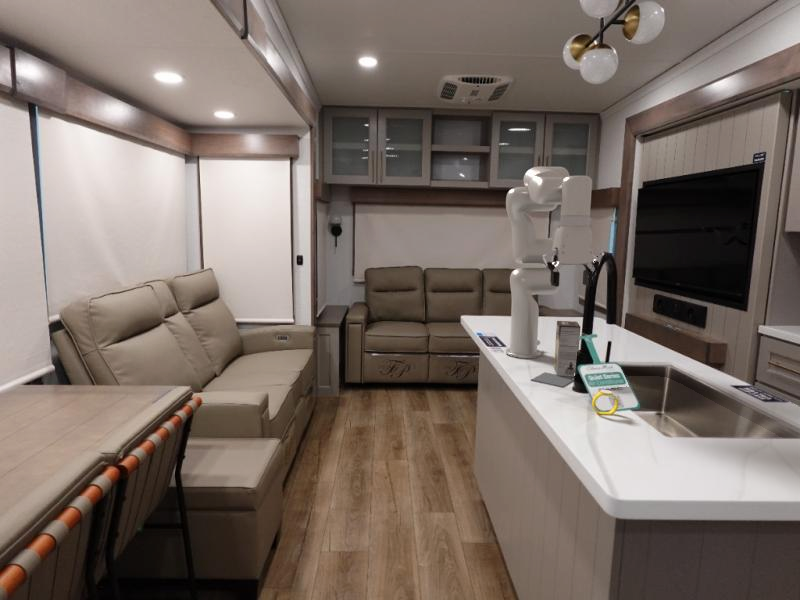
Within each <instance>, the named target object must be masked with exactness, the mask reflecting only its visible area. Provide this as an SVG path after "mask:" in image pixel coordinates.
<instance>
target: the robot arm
mask: <svg viewBox="0 0 800 600" xmlns="http://www.w3.org/2000/svg"><path fill="white" fill-rule="evenodd" d="M523 185H524V186H516V187H514V188H511V189H509V191H508V192H507V194H506V197H505V209H506V213H507V216H508V220H509V222H510V223H509V224H510V226H511V238H512V240H511V241H512V256H513V260H514V263H516V264H519V265H542V266H543V267H520V268H518V267H517V268H516V269H514V270H512V271H511V273H510V275H509V286H510V287H509V288H510V292H511V293H510V294H511V309H510V310H511V313H510V316H511V317H510V340H509V342H510V343H509V347H508V348H506V349H505V354H506V355H507V354H508V355H507V356H509V355H510V356H509V357H512V356H513V358H517V357H518V358H519V359H537V358H540V357H541V356H542V351H541V350H539V349H538V346H539V345H540V344H541V341H540V340H539V339H538V337H539V335H538V333H539V315H540V314H539V312H540V309H539V305H538V302H537V301H536V300H535V299H534V297H533V296H534V295H554V294H557V293H558V291H559V290H560V288H561V267H562V266H575V265H577V266H580V265H581V266H582V267H583V268H584V269H585V270H583V273H582V284H583V285H584V286H589V287H592V282H593V272H594V271H596V268H597V267H598V266H600V265H599V264H600V262H601V260H602V258H603V255H602V254H601V253H599V252H598V251H597V250H594V247H593V246H594V242H593V231H592V228H590V225H591V224H593V223H594V219H593V218H591V216H590V215H591V205H592V189H593V180H592V178H591V177H590V176H588V175H570V172H569V171H568V169H566V167H563V166H534V167H531V168H530V169H528V170H527V171H526V172H525V174H524V176H523ZM559 205H560V221H559V227H557V228H556V230H555V233H554V238H551V237H538V236H537V226H536V222H535V221H534V220H533V218H532V216H530V214H528V213H527V212H551V211H553V210H555V209H556V208H557V207H558V206H559ZM597 256H598V257H597ZM594 261H595V262H594ZM592 266H593V267H592ZM589 272H590V273H589ZM588 276H589V277H588ZM587 280H588V283H587Z"/></svg>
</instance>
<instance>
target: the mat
mask: <svg viewBox="0 0 800 600" xmlns="http://www.w3.org/2000/svg"><path fill="white" fill-rule="evenodd" d="M573 378H574V377H569V376H557V375H556V373H550V372H542V373H541V374H539V375H537V376H535V377H532V378H531V379H530V381H532V382H536V383H542V384H545V385H548V386H549V385H550V386H554V387H555V386H556V387H559V388H564V387H566V386H568V385H569V384H571V383H572V382H574V381H573Z"/></svg>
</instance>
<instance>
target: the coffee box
mask: <svg viewBox="0 0 800 600" xmlns="http://www.w3.org/2000/svg"><path fill="white" fill-rule="evenodd" d="M555 333H556V334H555V345H554V346H555V347H554V362H553V364H554V365H553V368H554V372H555V374H556V375H557V376H566V377H571V378H575V377H574V373H575V364H576V353H577V351H580V340H581V339H578V337H579V336H580V337H581V325H580V324H579V322H578V321H570V320H556V329H555Z"/></svg>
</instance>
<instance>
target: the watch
mask: <svg viewBox="0 0 800 600" xmlns="http://www.w3.org/2000/svg"><path fill="white" fill-rule="evenodd" d="M602 396H605V397H611V396H612V398H613V399H614V406H613V408H612V409H611V410H609V411H598V410H597V408H596V402H597V400H598V399H599V398H600V397H602ZM618 400H619V399H618V398H617V397H616V395H614V393H613V391H611V390H608V389H601V390H599V392H598V393H596V394H595V395H594V397H592V401H591V406H592V409H593V410H594V411H595V413H597V414H598V415H601V416H602V415H603V416H604V415H605V416H612V415H613V414H614V413H616V411H618V408H619V401H618Z"/></svg>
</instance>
